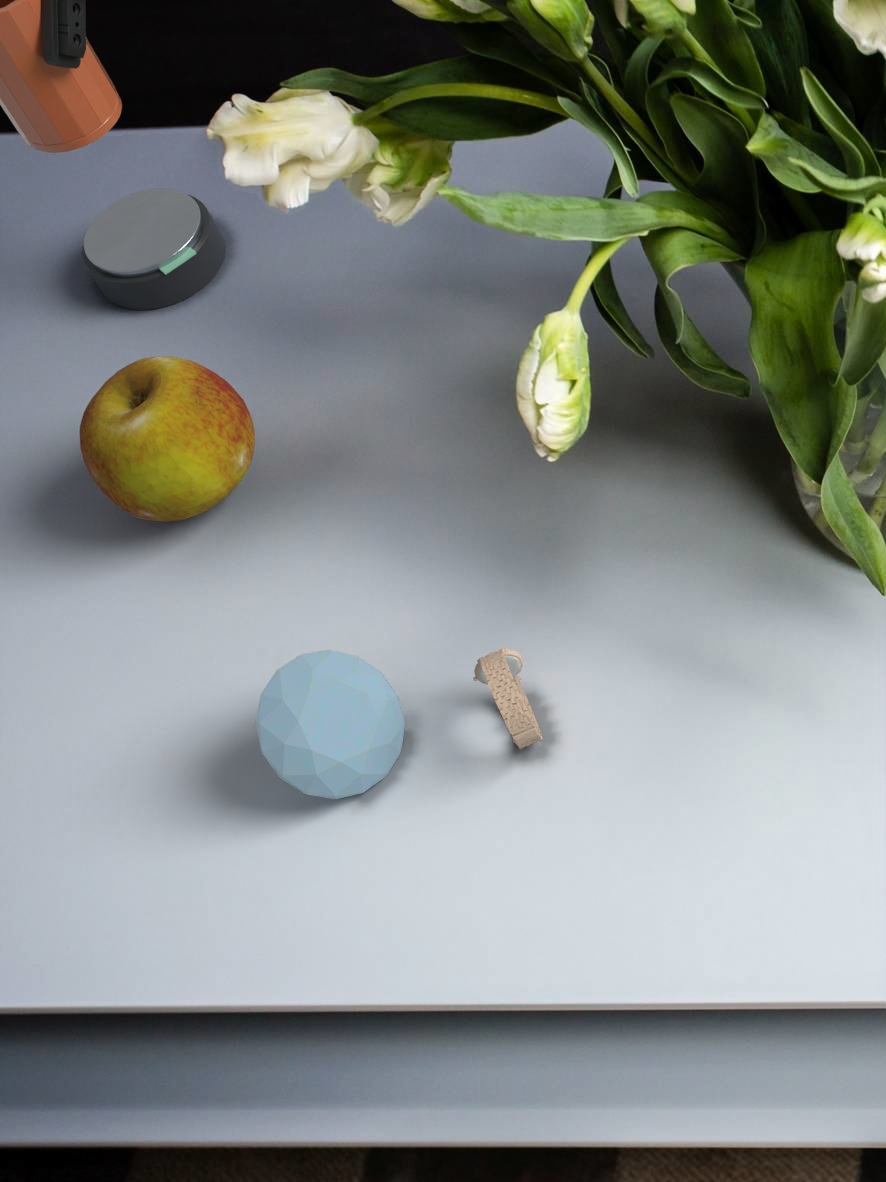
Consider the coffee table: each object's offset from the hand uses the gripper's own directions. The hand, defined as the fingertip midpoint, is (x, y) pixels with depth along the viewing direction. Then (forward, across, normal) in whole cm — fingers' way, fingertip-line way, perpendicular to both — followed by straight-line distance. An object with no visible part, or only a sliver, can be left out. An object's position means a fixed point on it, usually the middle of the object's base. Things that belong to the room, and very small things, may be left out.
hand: (10, 61), depth 91 cm
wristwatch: (+31, +36, -7) cm, 48 cm away
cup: (+3, 0, +5) cm, 6 cm away
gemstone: (+34, +28, -9) cm, 44 cm away
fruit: (+23, +11, +2) cm, 25 cm away
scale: (+11, 0, +14) cm, 17 cm away
